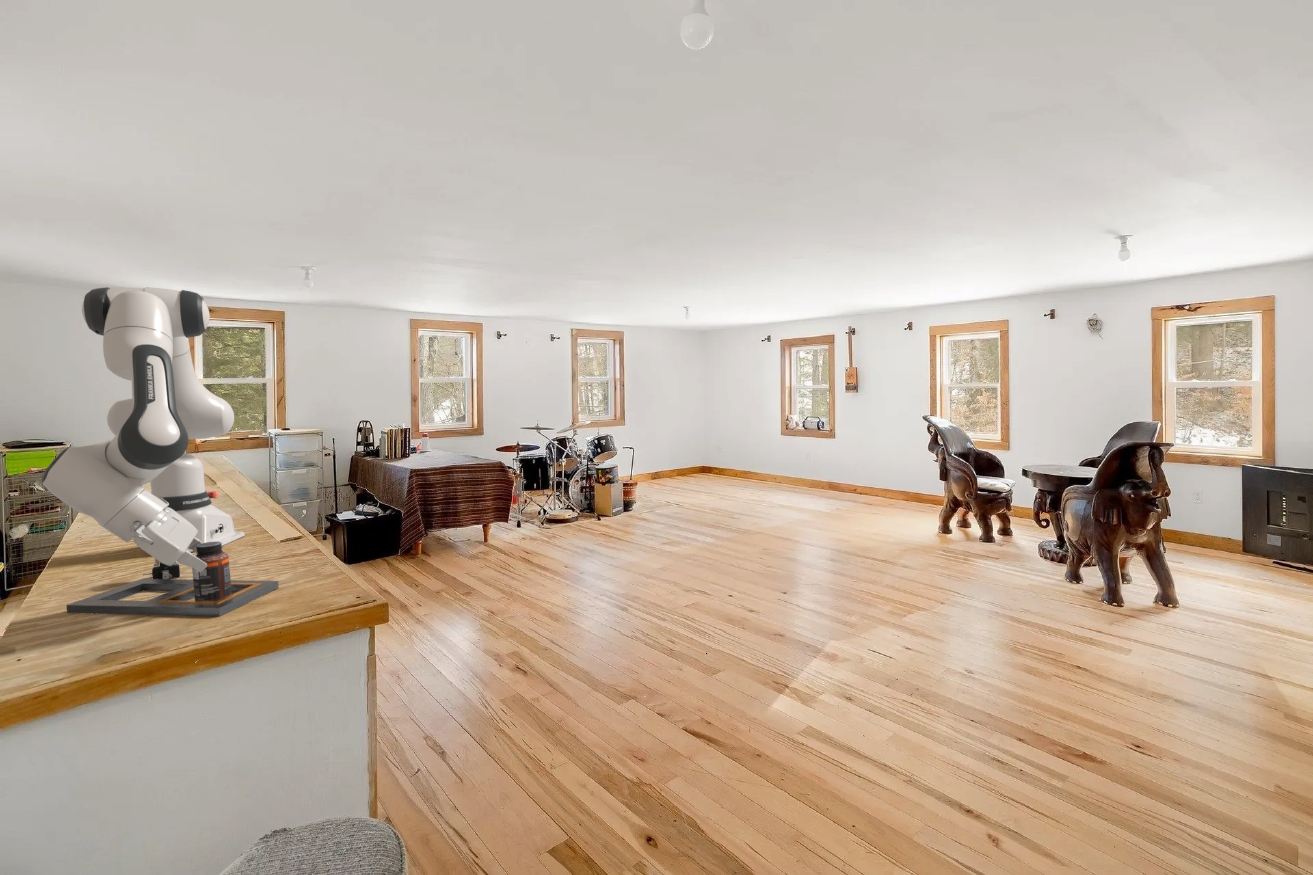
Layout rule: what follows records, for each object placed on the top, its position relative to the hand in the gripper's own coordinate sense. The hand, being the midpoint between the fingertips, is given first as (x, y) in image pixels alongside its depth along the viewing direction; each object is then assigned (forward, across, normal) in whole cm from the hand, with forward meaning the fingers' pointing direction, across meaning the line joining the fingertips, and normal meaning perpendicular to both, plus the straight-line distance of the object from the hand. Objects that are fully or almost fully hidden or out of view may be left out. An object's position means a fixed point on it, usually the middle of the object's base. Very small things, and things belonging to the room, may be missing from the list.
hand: (207, 562), depth 124 cm
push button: (-2, +23, +13) cm, 27 cm away
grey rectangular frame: (+2, +4, +9) cm, 10 cm away
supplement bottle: (+6, 0, +5) cm, 8 cm away
